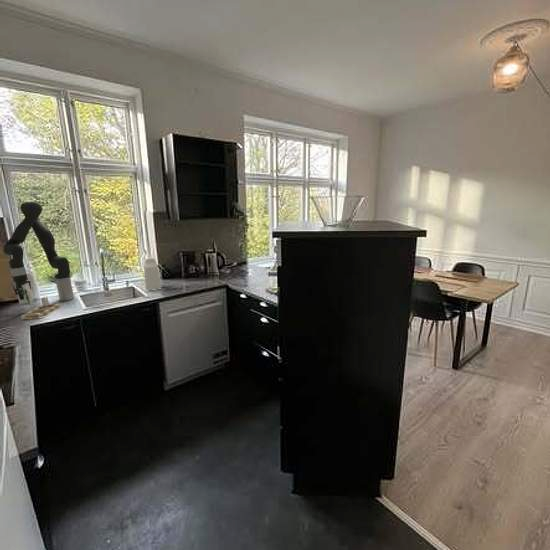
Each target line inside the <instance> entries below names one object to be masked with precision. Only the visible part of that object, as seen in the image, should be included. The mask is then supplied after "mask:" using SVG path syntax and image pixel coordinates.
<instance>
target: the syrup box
mask: <svg viewBox="0 0 550 550" xmlns="http://www.w3.org/2000/svg"><path fill="white" fill-rule="evenodd" d="M21 286H22V287H23V296H24V299H23V300H20V298H19V295H18V294H16V295H17V298H18V301H19V306H20V307H24V306H31V305H32V304H33V303H34V300H33V295H32V292H31V290H32V289H30V286H29V283H26V284H24V285H21ZM19 289H20V290H21V289H22V288H19ZM20 292H21V291H20ZM17 293H18V291H17Z"/></svg>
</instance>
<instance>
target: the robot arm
mask: <svg viewBox="0 0 550 550" xmlns="http://www.w3.org/2000/svg"><path fill="white" fill-rule="evenodd" d="M20 211H21V213H22V215H23V216H24V219H23V220H22V221H21V222H20V223H18V225H17V226H16V227H15V229H14V231H13V233H12V235H11V237H10V238H9V239H8V240H7V242H5V244H4V245H3V248H2V249H3V253H4V254H5V255H7V256H12V257H11V259H9V261H8V262H9V263H8V264H9V266H10V272H11V273H10V274H11V276H12V280H13V282H14V283H15V285H13V286H12V288H13V292H14V294H15V295H17V294H18V295H19V298H20V300H23V299H24V296H23V287H22V286H21V285H24V284H26V283H29V286H30V290H32V286H31V280H28V279H29V277H28V275H27V271H26V268H25V264H24V249H23V247H22V246H21V245H20V244H22V243H25V241H26V239H27V237H28V234H29V233H30V230H31V229H32V231H33V232H34V234H35V237H36V238H37V239H38V243H40V246H41V247H42V250H43V252H44V253H45V256H46V259H47V261H48V265H50V267H51V268H52V269H55V270H57V273H56V274H55V275H54V278H55V283H56V289H57V294H58V298H59V301H61V302H64V301H71V300H72V299H74V298H75V295H74V291H73V286H72V281H71V276H70V274H71V267H70V262H69V259H68V258H67V257H65V256H59V255H58V253H57V251H56V249H55V248H56V247H55V246H56V240H55V237H54V235H53V234H52V231H51V230H50V229H49V228H48V226H46V225H45V224H44V223H43V222H42V221H41V220H40V218H39V217H40V216H41V215H42V212H43V206H42V204H41V203H39V202H37V201H25V202H22V203H21V204H20ZM19 288H22V289H21V290H20V289H19ZM17 291H18V293H17ZM20 291H21V292H20ZM18 295H17V296H18Z"/></svg>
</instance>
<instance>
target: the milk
mask: <svg viewBox="0 0 550 550" xmlns="http://www.w3.org/2000/svg"><path fill="white" fill-rule="evenodd" d="M155 259H156V258H154V257H152V258H146V259H145V263H144V280H145V291H146V290H152V289H159V288H161V287H162V282H161V276H160V271H159V265H158V263H157V261H156V260H155Z"/></svg>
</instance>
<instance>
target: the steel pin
mask: <svg viewBox="0 0 550 550" xmlns="http://www.w3.org/2000/svg"><path fill="white" fill-rule="evenodd" d="M40 299H41V305H43V309H46V308H50V307H49V304H50V303H49V298H48V297H47V296H45V297H41V298H40Z"/></svg>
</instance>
